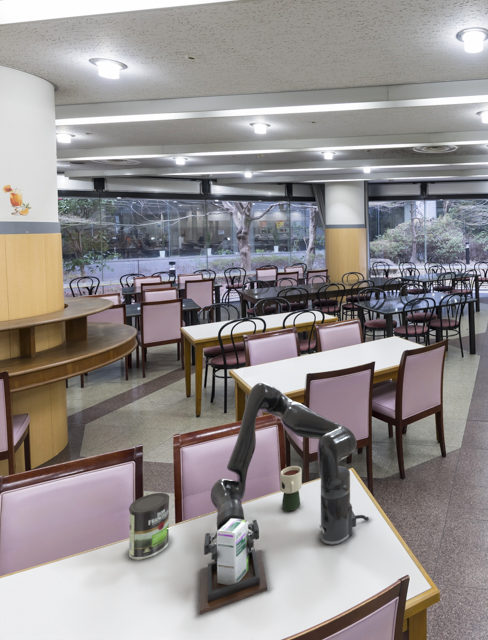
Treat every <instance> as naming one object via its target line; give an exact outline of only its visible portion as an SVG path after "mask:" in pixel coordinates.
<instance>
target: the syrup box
mask: <svg viewBox="0 0 488 640" xmlns="http://www.w3.org/2000/svg"><path fill="white" fill-rule="evenodd" d="M248 524H249V521H248V520H247V519H245V520H242V519H232V518H231V519H230V520H229V521H228V522H227V523H226V524H225V525H224V526H223V527H221V528H220V529H219V530H218V531H217V530H216V532H217V582H218V583H220V584H224V585H231V584H234V583H237V582H239V581H240V580H241V579H242V578H243V576H244V575H245V574H246V573H247V572H248V530H249V529H248Z"/></svg>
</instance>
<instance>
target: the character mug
mask: <svg viewBox="0 0 488 640" xmlns="http://www.w3.org/2000/svg"><path fill="white" fill-rule="evenodd" d="M302 470H303V469H302V467H301V466H298V465H292V466H290V465H289V466H287V467H285V468H283V469H281V471H280V492H281V493H283V495H282V501H281V510H282V511H284V512H290V511H291V512H292V511H294V510H296V509H298V508H300V506H301V497H300V490H301V489H302V487H303V486H302V485H303V484H302V483H303V482H302V481H303V480H302V479H303V471H302Z"/></svg>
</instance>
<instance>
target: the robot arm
mask: <svg viewBox="0 0 488 640" xmlns="http://www.w3.org/2000/svg"><path fill="white" fill-rule="evenodd" d="M259 412H263V413H266V414H270V415H272V416H274V417H276V418H278V419H279V420H280V423H281V425H282V426H283V428H285V429H286V430H287V431H289V432H291V434H293V435H295V436H297V437H301V438H304V439H305V438H306V439H315V440H318V442H317V464H318V465H317V466H318V475H319V478H320V523H319V529H320V533H319V534H320V536H319V537H320V540H321V542H322V543H323V544H325V545H330V546H333V545H339V544H341V543H343V542H345V541H346V540H348V539H349V538H350V537H352V536H353V528H355V527H357V520H358V519H363V520H364V521H368V520H369V516H366V515H364V514H358V515H355V513H354V511H353V506H352V503H351V471H350V470H349V469H348V467H345V466H344V465H343V466H342V465H339V462H340V461H342V460H344V459H345V458H347V457H349V456H351V455H352V454H353V453H354V452H355V450H356V449H357V445H358V444H357V443H358V442H357V439H356V436H355V434H354V433H353V431H351V430H350V429H349V428H348V427H346V426H344V425H342V424H340V423H337V422H335V421H332V420H330V419H328V418H326V417H324V416H323V415H320V414H319V413H317V412H315V411H314V410H312V409H311V408H309V407H307V406H306V405H305V404H302V403H300V402H298V401H295V400H293V399H291V398H289V397H288V396H287V395H286V394H284V393H283V392H282V391H281V390H280V389H278V388H276V387H274V386H272V385H271V384H270V385H269V384H267V383H265V382H258V383H256V384H255V385H253V386H252V387H251V389H250V391H249V393H248V395H247V398H246V402H245V406H244V410H243V415H242V418H241V424H240V428H239V432H238V435H237V439H236V441H235V444H234V446H233V449H232V451H231V455H230V457H229V460H228V462H227V464H226V465H227V466H226V469H227V471H229V472H232V473H233V474H235V475H236V478H237V480H234V479H229V478H220V479H218V480H217V481H215V483H214V484H213V485H212V487H211V490H210V500H211V503H212V505H213V506H214V508H215V509H216V512H217V514H216V532H215V533H213V534H211V532H206V533H205V534H204V540H203V541H204V543H203V555H204V556H207V555H209V554H210V555H211V556H210V557H211V561H213V562H215V561H217V531H218V530H219V529H220V528H221V527H223V526H224V525H225V524H226V523H227V522H228V521H229V520H230V519H231V518H232V519H242V520H246V519H245V513H244V508H243V504H242V500H243V499H244V497H245V493H246V485H247V477H248V470H249V468H250V464H251V461H252V459H253V456H254V454H255V450H256V443H257V437H256V435H257V434H256V423H257V422H256V421H257V417H258V415H259ZM259 539H260V527H259V524H258V521H257V519H253V520H252V523H251V522H250V523H248V551H250V550H252V549H254V548H255V547H254V546H255V543H254V542H255V540H259Z"/></svg>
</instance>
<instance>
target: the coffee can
mask: <svg viewBox="0 0 488 640" xmlns="http://www.w3.org/2000/svg"><path fill="white" fill-rule="evenodd" d="M128 512H129V538H128V539H129V543H128V544H129V547H128V549H129V550H128V556H129V558H130V559H132V560H136V561H138V560H139V561H140V560H145V559H149V558H152V557H154V556H156V555H158V554H160V553H161V552H163V551H164V550H165V549H166V548H167V547H168V546H169V542H170V541H169V533H170V532H169V529H167V528H170V527H169V526H170V524H169V522H170V521H169V520H170V519H169V517H170V516H169V515H170V514H169V513H170V495H169V494H168V493H166V492H155V493H150V494H146V495H143V496H141V497H139V498H137V499H135V500H134V501H133V502H132V503H131V504H129V507H128Z"/></svg>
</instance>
